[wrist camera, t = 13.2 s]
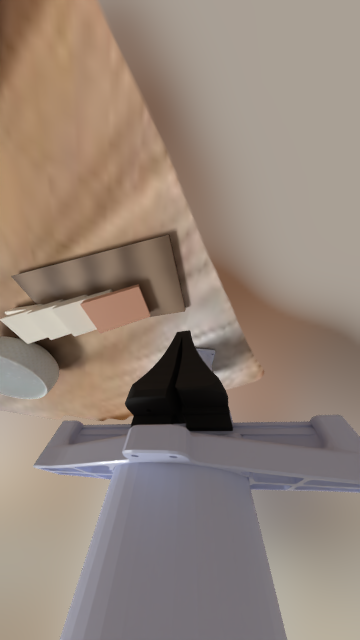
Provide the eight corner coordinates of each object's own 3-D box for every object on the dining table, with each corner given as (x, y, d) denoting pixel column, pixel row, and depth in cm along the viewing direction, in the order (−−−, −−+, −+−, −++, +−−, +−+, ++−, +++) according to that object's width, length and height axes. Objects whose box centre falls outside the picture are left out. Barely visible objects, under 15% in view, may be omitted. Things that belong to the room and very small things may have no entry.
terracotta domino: (138, 286, 18) (79, 304, 17) (150, 316, 21) (100, 333, 20) (138, 284, 20) (83, 300, 19) (149, 312, 22) (102, 328, 21)
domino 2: (58, 302, 21) (-1, 319, 19) (77, 327, 23) (27, 344, 22) (62, 299, 22) (8, 314, 20) (80, 323, 24) (33, 338, 23)
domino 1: (31, 308, 21) (4, 312, 23) (53, 332, 24) (26, 333, 26) (42, 303, 22) (14, 307, 25) (61, 326, 25) (35, 328, 27)
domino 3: (83, 297, 20) (25, 314, 19) (100, 323, 22) (50, 340, 21) (86, 294, 21) (32, 309, 20) (102, 319, 24) (55, 334, 23)
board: (169, 234, 17) (168, 234, 16) (185, 308, 23) (185, 311, 22) (18, 274, 21) (11, 276, 20) (64, 328, 27) (60, 331, 26)
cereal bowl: (60, 380, 38) (37, 407, 32) (-9, 351, 33) (-52, 377, 27) (80, 353, 31) (55, 381, 25) (-3, 310, 25) (-62, 333, 19)
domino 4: (109, 292, 19) (51, 309, 18) (124, 320, 22) (74, 336, 20) (111, 289, 20) (57, 305, 19) (125, 315, 23) (78, 331, 22)
